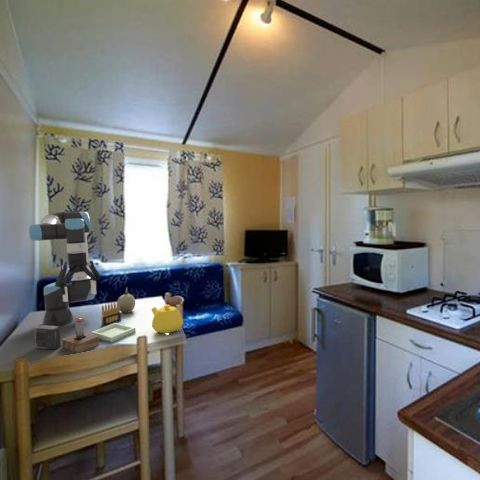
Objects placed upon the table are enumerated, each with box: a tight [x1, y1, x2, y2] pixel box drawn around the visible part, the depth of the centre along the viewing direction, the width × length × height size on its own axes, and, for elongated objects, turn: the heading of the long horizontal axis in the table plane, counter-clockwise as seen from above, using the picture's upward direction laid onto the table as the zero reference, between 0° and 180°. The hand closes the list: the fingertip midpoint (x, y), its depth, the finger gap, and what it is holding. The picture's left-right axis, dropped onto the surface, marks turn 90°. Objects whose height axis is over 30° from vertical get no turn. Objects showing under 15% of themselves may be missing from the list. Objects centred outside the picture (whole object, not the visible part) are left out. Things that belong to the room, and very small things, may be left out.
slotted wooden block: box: [61, 331, 100, 354], centre depth 134 cm, size 12×10×4 cm
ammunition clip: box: [101, 300, 122, 327], centre depth 164 cm, size 11×2×12 cm, turn 144°
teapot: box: [151, 304, 184, 334], centre depth 150 cm, size 20×16×14 cm
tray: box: [90, 322, 137, 343], centre depth 147 cm, size 16×14×2 cm
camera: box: [33, 324, 62, 350], centre depth 134 cm, size 11×6×10 cm, turn 75°
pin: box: [74, 317, 85, 341], centre depth 134 cm, size 3×3×13 cm
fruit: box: [117, 287, 136, 314], centre depth 182 cm, size 10×12×15 cm
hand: (80, 297), depth 134 cm, fingers open, 13 cm apart
